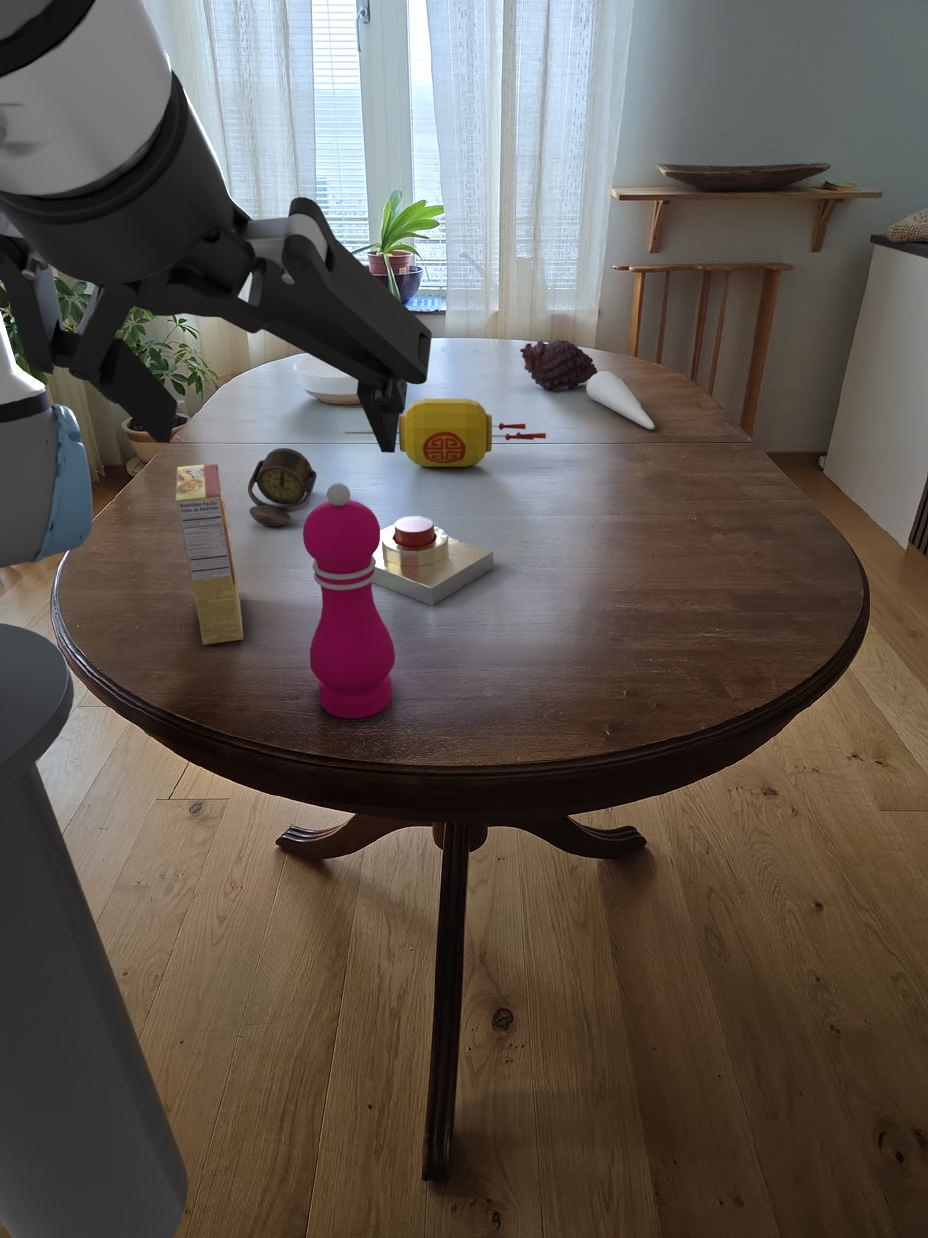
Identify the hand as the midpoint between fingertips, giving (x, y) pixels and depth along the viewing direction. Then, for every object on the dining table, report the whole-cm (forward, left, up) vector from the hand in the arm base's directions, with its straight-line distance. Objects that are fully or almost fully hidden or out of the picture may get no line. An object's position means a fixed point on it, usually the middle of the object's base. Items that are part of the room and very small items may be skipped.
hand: (277, 426), depth 46 cm
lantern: (-36, +60, -28) cm, 76 cm away
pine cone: (-46, +109, -28) cm, 122 cm away
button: (-17, +31, -24) cm, 43 cm away
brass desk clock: (-43, +33, -28) cm, 61 cm away
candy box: (-25, +10, -28) cm, 39 cm away
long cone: (-27, +99, -28) cm, 107 cm away
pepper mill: (-5, +9, -28) cm, 30 cm away
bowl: (-75, +78, -28) cm, 112 cm away
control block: (-17, +31, -28) cm, 45 cm away
